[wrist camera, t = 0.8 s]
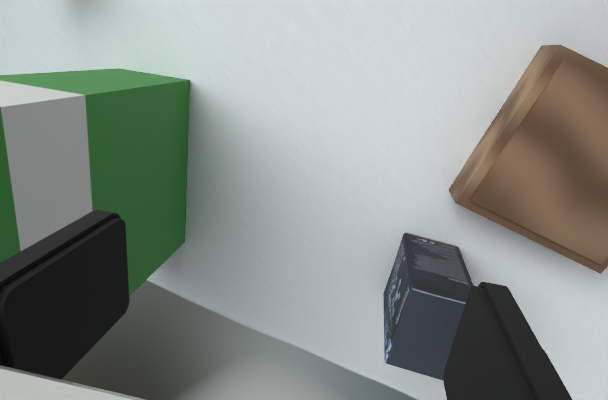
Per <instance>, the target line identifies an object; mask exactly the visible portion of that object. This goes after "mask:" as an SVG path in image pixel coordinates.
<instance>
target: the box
mask: <svg viewBox="0 0 608 400" xmlns="http://www.w3.org/2000/svg"><path fill="white" fill-rule="evenodd" d="M472 286H473V283H472V281H471V278H470V276H469V274H468V271H467V269H466V266H465V263H464V261H463V258H462V255H461V253H460V250H459V248H458V247H457V246H454V245H450V244H447V243H443V242H439V241H436V240H431V239H428V238H424V237H420V236H417V235H413V234H409V233H404V235H403V238H402V241H401V244H400V247H399V250H398V253H397V256H396V259H395V262H394V265H393V268H392V271H391V274H390V277H389V280H388V283H387V286H386V289H385V291H384V339H385V345H384V346H385V363H387V364H390V365H393V366H397V367H400V368H403V369H407V370H410V371H413V372H417V373H420V374H424V375H427V376H430V377H434V378H437V379H440V380H443V381H444V370H445V366H446V363H447V360H448V357H449V354H450V351H451V347H452V344H453V341H454V338H455V335H456V332H457V329H458V326H459V322H460V319H461V316H462V313H463V310H464V307H465V304H466V301H467V297H468V294H469V291H470V289H471V287H472Z"/></svg>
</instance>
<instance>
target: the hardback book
mask: <svg viewBox="0 0 608 400" xmlns="http://www.w3.org/2000/svg"><path fill="white" fill-rule="evenodd" d="M189 89H190V80H186V79H179V78H173V77H167V76H161V75H155V74H149V73H143V72H136V71H130V70H124V69H104V70H87V71H70V72H52V73H35V74H18V75H1V76H0V263H1V262H3V261H4V260H6V259H8V258H10V257H12V256H13V255H15V254H17V253H19V252H20V251H22V250H24V249H26V248H28V247H29V246H31V245H33V244H35V243H37V242H38V241H40V240H42V239H44V238H45V237H47V236H49V235H51V234H53V233H54V232H56V231H58V230H60V229H62V228H63V227H65V226H67V225H69V224H70V223H72V222H74V221H76V220H78V219H79V218H81V217H83V216H85V215H86V214H88V213H90V212H92V211H94V210H103V211H108V212H113V213H117V214H119V215H120V217H121V219H123V220H124V222H125V225H126V242H127V263H128V283H129V296H130V295H131V294H132V293H133V292H134V291H135V290H136V289H137V288H138V287H139V286H140V285H141V284H142V283H143V282H144V281H145V280H146V279H147V278H148V277H149V276H150V275H151V274H152V273H153V272H154V271H155V270H156V269H158V268H159V267H160V266H161V265H162V264H163V263H164V262H165V261H166V260H167V259H168V258H169V257H170V256H171V255H172V254H173V253H174V252H175V251H176V250H177V249H178V248H179V247H180V246H181V245H182V244H183V243H184V242H185V218H186V186H187V154H188V121H189Z"/></svg>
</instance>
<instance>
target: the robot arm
mask: <svg viewBox="0 0 608 400" xmlns="http://www.w3.org/2000/svg"><path fill="white" fill-rule="evenodd" d="M128 306H129V283H128V263H127V242H126V225H125V222H124V220H123V219H121V217H120V215H119V214H117V213H113V212H108V211H103V210H94V211H92V212H90V213H88V214H86V215H85V216H83V217H81V218H79V219H78V220H76V221H74V222H72V223H70V224H69V225H67V226H65V227H63V228H62V229H60V230H58V231H56V232H54V233H53V234H51V235H49V236H47V237H45V238H44V239H42V240H40V241H38V242H37V243H35V244H33V245H31V246H29V247H28V248H26V249H24V250H22V251H20V252H19V253H17V254H15V255H13V256H12V257H10V258H8V259H6V260H4V261H3V262H1V263H0V400H145V399H140V398H136V397H132V396H128V395H123V394H120V393H115V392H111V391H107V390H103V389H98V388H94V387H90V386H86V385H81V384H77V383H73V382H69V381H64V380H61V379H62V378H63V377H64V376H65V375H66V374H67V373H68V372H69V371H70V370H71V369H72V368H73V367H74V366H75V365H76V364H77V363H78V362H79V361H80V359H82V358H83V356H84V355H85V354H86V353H87V352H88V351H89V350H90V349H91V348H92V347H93V346H94V345H95V344H96V343H97V342H98V341H99V340H100V339H101V338H102V337H103V336H104V335H105V334H106V332H107V331H108V330H109V329H110V328H111V327H112V326H113V325H114V324H115V323H116V322H117V321H118V320H119V319H120V318H121V317H122V316H123V315H124V314H125V312H126V310H127V308H128ZM444 386H445V391H446V396H447V400H572V398H571V397H570V395H569V393H568V391H567V389H566V388H565V386H564V384H563V382H562V381H561V379H560V377H559V375H558V374H557V372H556V370H555V368H554V366H553V365H552V363H551V361H550V359H549V358H548V356H547V354H546V353H545V351H544V350H543V349H542V347H541V346H540V344H539V342H538V340H537V339H536V337H535V335H534V333H533V331H532V330H531V328H530V326H529V324H528V323H527V321H526V319H525V317H524V315H523V314H522V312H521V310H520V308H519V306H518V305H517V303H516V301H515V299H514V298H513V296H512V294H511V292H510V290H509V289H508V288H507V286H502V285H497V284H492V283H486V282H481V283H480V284H479V286H478V287H477V286H472V287H471V289H470V291H469V294H468V297H467V301H466V304H465V307H464V310H463V313H462V316H461V319H460V322H459V326H458V329H457V332H456V335H455V338H454V341H453V344H452V347H451V351H450V354H449V357H448V360H447V363H446V366H445V370H444Z"/></svg>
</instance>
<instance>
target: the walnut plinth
mask: <svg viewBox="0 0 608 400" xmlns="http://www.w3.org/2000/svg"><path fill="white" fill-rule="evenodd" d="M449 191H450V193H451V195H452V197H453V199H454V200H455V202H456V203H457V204H459V205H461V206H463V207H465V208H467V209H470V210H472V211H474V212H476V213H478V214H480V215H482V216H484V217H486V218H488V219H490V220H492V221H494V222H496V223H498V224H500V225H502V226H504V227H506V228H508V229H510V230H512V231H515V232H517V233H519V234H521V235H523V236H525V237H527V238H529V239H531V240H533V241H535V242H537V243H539V244H541V245H543V246H545V247H547V248H549V249H551V250H553V251H555V252H558V253H560V254H562V255H564V256H566V257H568V258H570V259H572V260H574V261H576V262H578V263H580V264H582V265H584V266H586V267H588V268H590V269H592V270H594V271H596V272H598V273H602V272H603V271H604V270H605V268H606V267H607V266H608V68H607V67H605V66H603V65H601V64H599V63H597V62H595V61H593V60H591V59H588V58H586V57H584V56H582V55H580V54H578V53H576V52H574V51H572V50H570V49H568V48H566V47H564V46H562V45H547V46H541V48H540V49H539V51H538V52H537V54H536V55H535V57H534V58H533V60H532V62H531V63H530V65H529V66H528V68H527V69H526V71H525V72H524V74H523V75H522V77H521V79H520V80H519V82H518V83H517V85H516V86H515V88H514V89H513V91H512V93H511V94H510V96H509V97H508V99H507V100H506V102H505V103H504V105H503V106H502V108H501V110H500V111H499V113H498V114H497V116H496V117H495V119H494V120H493V122H492V123H491V125H490V127H489V128H488V130H487V131H486V133H485V134H484V136H483V137H482V139H481V141H480V142H479V144H478V145H477V147H476V148H475V150H474V151H473V153H472V154H471V156H470V158H469V159H468V161H467V162H466V164H465V165H464V167H463V168H462V170H461V172H460V173H459V175H458V176H457V178H456V179H455V181H454V182H453V184H452V185H451V187H450V189H449Z"/></svg>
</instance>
